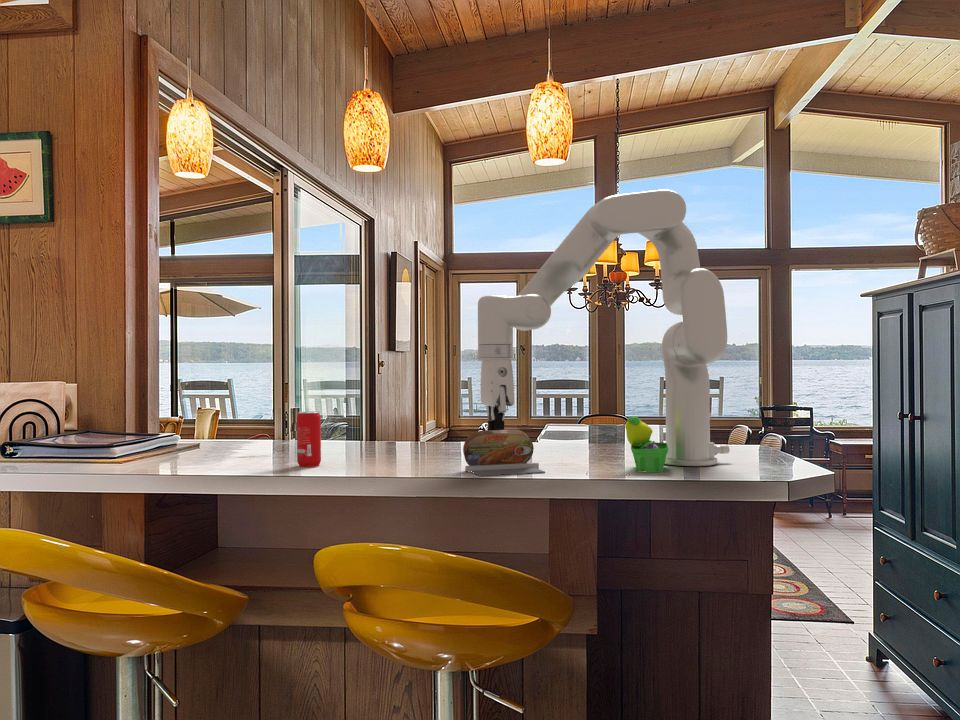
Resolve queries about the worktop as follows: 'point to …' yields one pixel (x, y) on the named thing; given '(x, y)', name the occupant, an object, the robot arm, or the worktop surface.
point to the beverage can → (308, 439)
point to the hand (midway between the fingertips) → (496, 438)
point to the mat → (505, 469)
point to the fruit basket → (645, 446)
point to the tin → (498, 447)
